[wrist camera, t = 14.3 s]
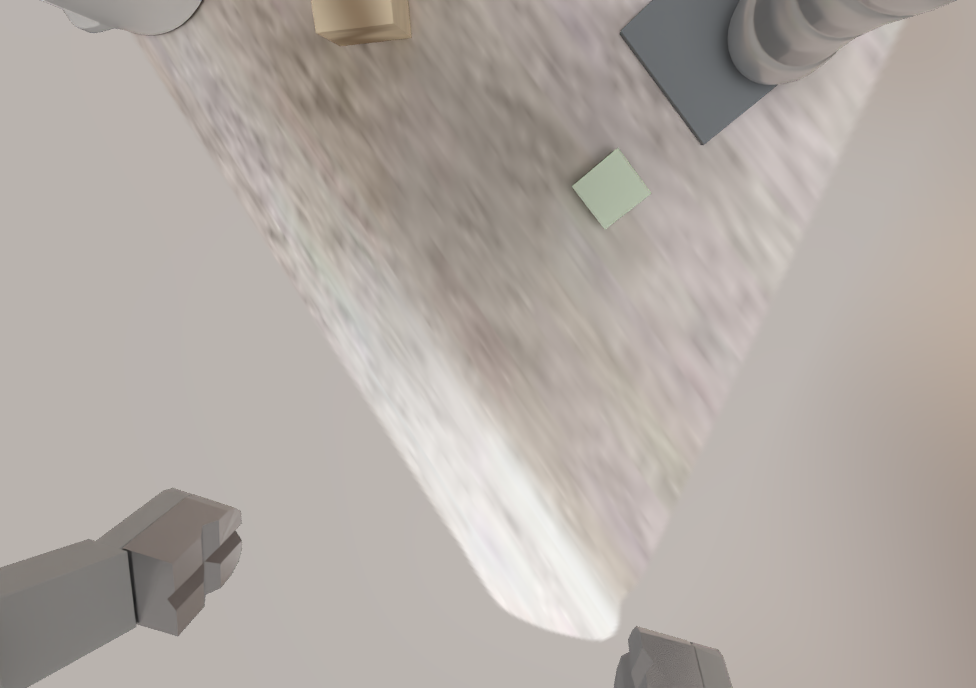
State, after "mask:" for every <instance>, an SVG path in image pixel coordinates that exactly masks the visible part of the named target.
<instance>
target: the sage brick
mask: <svg viewBox="0 0 976 688" xmlns="http://www.w3.org/2000/svg"><path fill="white" fill-rule="evenodd" d="M572 187H573V189H574V190H575V191H576V193H577V194H578V195H579V197H580V198H581V199H582V200H583V202H584V203H585V204H586V206H587V207H588V208H589V210H590V211H591V212H592V214H593V215H594V216H595V218H596V219H597V220H598V221H599V223H600V224H601V225H602V227H603V228H604V229H607V228H608V227H609V226H610V225H612V224H613V223H614V222H616V221H617V220H618V219H619V218H621V217H622V216H623V215H625V214H626V213H627V212H628V211H630V210H631V209H632V208H634V207H635V206H636V205H637V204H639V203H640V202H641V201H643V200H644V199H645V198H646V197H648V196H649V195H650V194H651V192H650V191H649V189H648V188H647V187H646V185H645V184H644V182H643V181H642V180H641V178H640V177H639V176H638V174H637V173H636V172H635V170H634V169H633V167H632V166H631V165H630V163H629V162H628V161H627V159H626V158H625V157H624V155H623V154H622V152H621V151H620V150H619V148H617V149H616V150H614V151H613V152H612V153H611V154H610V155H608V156H607V157H606V158H605V159H604V160H602V161H601V162H600V163H599V164H598V165H596V166H595V167H594V168H593V169H592V170H590V171H589V172H588V173H587V174H586V175H585V176H583V177H582V178H581V179H580V180H579V181H577V182H576V183H575V184H574V185H573V186H572Z"/></svg>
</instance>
